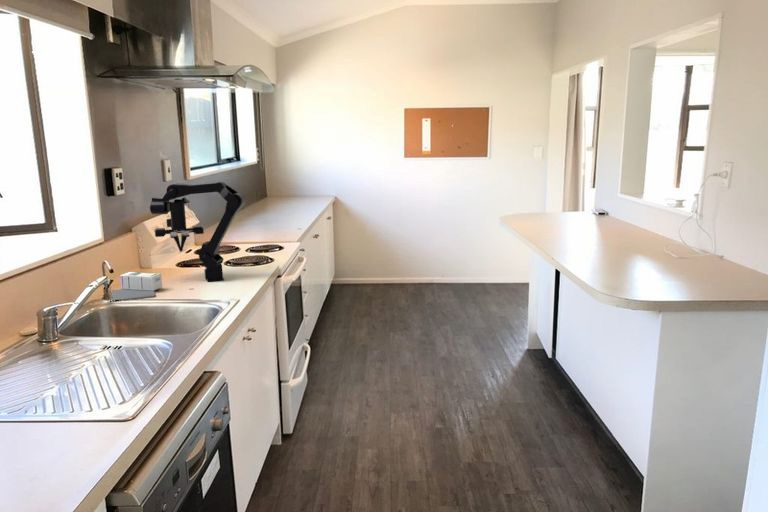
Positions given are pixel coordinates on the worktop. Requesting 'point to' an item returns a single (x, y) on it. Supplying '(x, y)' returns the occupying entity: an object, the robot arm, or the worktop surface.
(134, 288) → the syrup box
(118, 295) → the mat
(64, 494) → the worktop surface
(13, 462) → the worktop surface
